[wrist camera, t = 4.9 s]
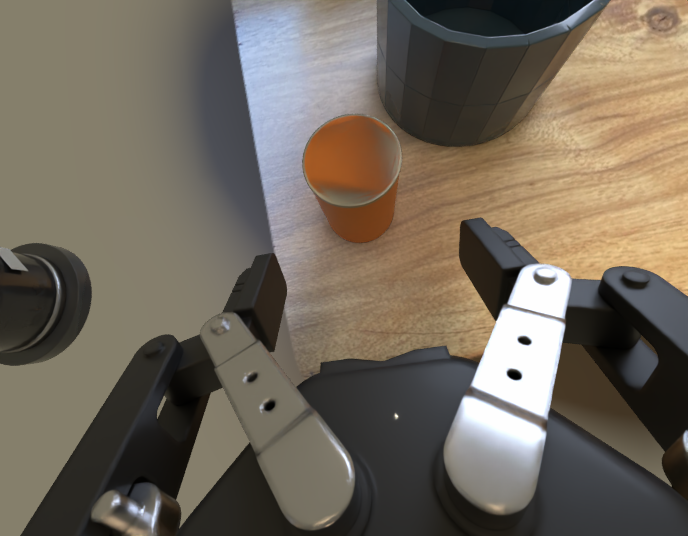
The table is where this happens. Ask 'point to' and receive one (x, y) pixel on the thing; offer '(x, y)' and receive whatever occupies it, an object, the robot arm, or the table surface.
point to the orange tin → (354, 174)
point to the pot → (473, 62)
